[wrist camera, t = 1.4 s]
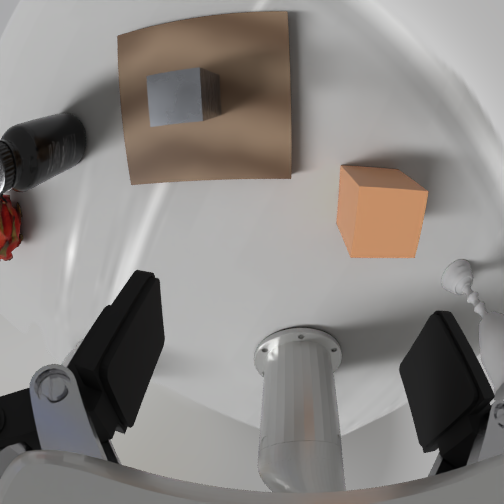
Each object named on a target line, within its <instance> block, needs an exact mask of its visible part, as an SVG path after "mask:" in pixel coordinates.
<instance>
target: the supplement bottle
mask: <svg viewBox="0 0 504 504" xmlns="http://www.w3.org/2000/svg"><path fill="white" fill-rule="evenodd" d="M85 148H86V133H85V129H84V127H83V125H82V123H81V121H80V120H79V119H78V118H77V117H76V116H74V115H72V114H70V113H60V114H55V115H51V116H47V117H43V118H39V119H35V120H31V121H28V122H24V123H21V124H17V125H15V126H12V127H11V128H9V129H8V130H7V131H6V132H5V133H4V135H3V136H2V138H1V140H0V195H1V194H3V193H5V192H8V191H10V190H14V191H17V192H25V191H28V190H30V189H32V188H34V187H35V186H37V185H39V184H41V183H43V182H45V181H46V180H48V179H50V178H52V177H54V176H56V175H58V174H60V173H62V172H64V171H66V170H68V169H70V168H72V167H73V166H75V165H76V164H77V163H78V162H79V161H80V160H81V158H82V156H83V154H84V152H85Z"/></svg>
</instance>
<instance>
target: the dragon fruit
mask: <svg viewBox="0 0 504 504" xmlns="http://www.w3.org/2000/svg"><path fill="white" fill-rule="evenodd" d="M21 217H22V214H21V209H20V207H19V204H18V202H17V207H16V209H15V208H13V207H12V203H11V200H10V195H3V194H1V195H0V259H3V260H4V261H7V260H11V259H12V258H13V256H12V253H11V252H12V251H13V250H14V249H15V248H16V247H18V246H19V245H20V243H21V241H22V240H23V235H22V234H20V225H21Z"/></svg>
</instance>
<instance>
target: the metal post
mask: <svg viewBox="0 0 504 504" xmlns="http://www.w3.org/2000/svg"><path fill="white" fill-rule="evenodd" d="M146 78H147V93H148V106H149V117H150V127H155V126H163V125H171V124H179V123H189V122H199V121H205V120H208V119H211V118H214V117H217V116H221V96H220V76H219V75H218V74H216V73H213V72H211V71H208V70H206V69H203V68H200V67H198V68H190V69H183V70H176V71H170V72H164V73H159V74H154V75H149V76H146Z"/></svg>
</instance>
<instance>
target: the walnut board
mask: <svg viewBox="0 0 504 504" xmlns="http://www.w3.org/2000/svg"><path fill="white" fill-rule="evenodd" d="M117 39H118V71H119V88H120V101H121V112H122V122H123V131H124V139H125V147H126V154H127V161H128V168H129V174H130V180H131V185H138V184H150V183H163V182H178V181H197V180H222V179H291V85H290V54H289V32H288V13H287V12H286V11H271V12H245V13H231V14H221V15H212V16H204V17H198V18H191V19H185V20H180V21H174V22H169V23H165V24H160V25H156V26H151V27H147V28H143V29H139V30H136V31H132V32H129V33H125V34H122V35H119V36H117ZM198 67H200V68H203V69H206V70H208V71H211V72H213V73H216V74H218V75H219V76H220V96H221V116H217V117H214V118H211V119H208V120H205V121H199V122H189V123H179V124H171V125H163V126H155V127H150V117H149V106H148V93H147V78H146V76H149V75H154V74H159V73H164V72H170V71H176V70H183V69H190V68H198Z"/></svg>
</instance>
